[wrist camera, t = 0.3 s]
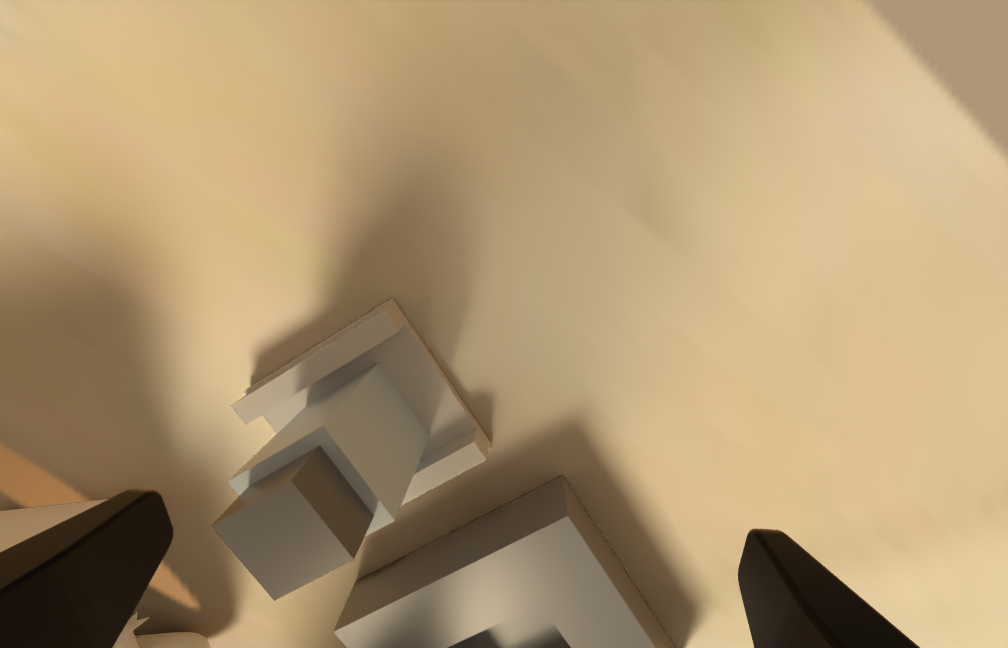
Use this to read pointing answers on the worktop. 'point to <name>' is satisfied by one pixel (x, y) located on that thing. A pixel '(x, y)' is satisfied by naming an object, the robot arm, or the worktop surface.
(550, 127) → the worktop surface
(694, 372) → the worktop surface
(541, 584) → the socket plate
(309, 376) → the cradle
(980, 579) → the worktop surface
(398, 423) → the plug
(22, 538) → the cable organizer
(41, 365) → the worktop surface
